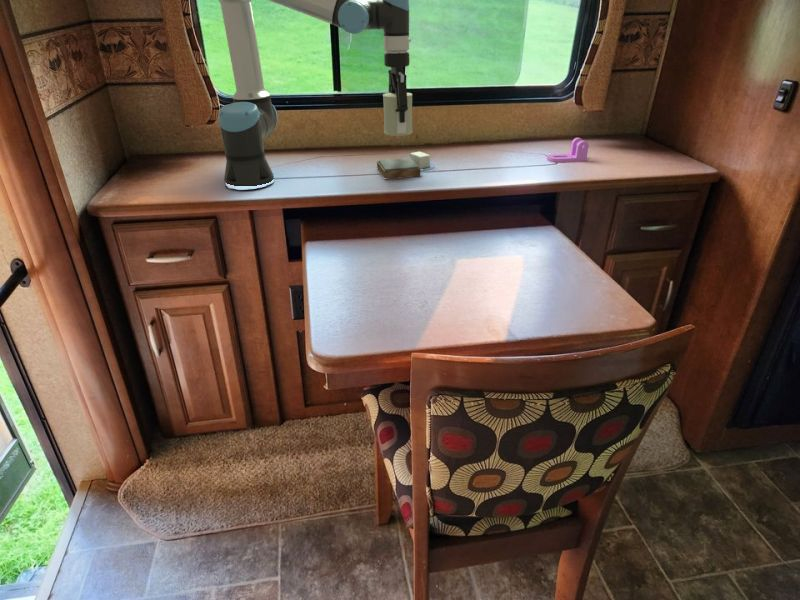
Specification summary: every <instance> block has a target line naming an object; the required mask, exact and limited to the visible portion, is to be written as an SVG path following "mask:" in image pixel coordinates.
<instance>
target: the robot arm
mask: <svg viewBox="0 0 800 600" xmlns="http://www.w3.org/2000/svg"><path fill="white" fill-rule="evenodd" d="M217 1H218V2H219V4H220V8H221V14H222V20H223V23H224V30H225V35H226V41H227V46H228V52H229V58H230V63H231V67H232V73H233V74H232V75H233V79H234V85H235V90H236V91H235V93H234V94H233V96H232V100H233V101H232V102H231V103H229V104H225V105H223V106H221V107H220V109H219V111H218V112H217V113H218V115H217V116H218V124H219V127H220V128H219V129H220V132H221V133H220V134H221V138H222V143H223V144H222V145H223V147H224V148H223V149H224V154H225V158H226V159H225V160H226V161H225V162H226V163H225V169H224V175H223V176H224V177H223V179H224V180H223V182H224V181H225V182H226V183H227V184H230V185H234V186H257V185H262V184H266V183H269V182H271V181H272V180H273V179H274V180H275V178H274V173H273V171H272V168H271V166H270V165H269V163H268V162H269V161H268V160H267V158H266V153H265V147H264V139H266V138H267V137H269V136H270V135H271V134H272V133H273V132H274V130H275V129H276V127H277V124H278V119H279V118H278V112H277V109H276V107H275V105H274V104H272V98H271V93H270V92H268V91H267V90H266V89H265V84H264V78H263V71H262V66H261V58H260V52H259V46H258V41H257V40H258V39H257V34H256V33H257V32H256V28H255V27H256V26H255V20H254V15H253V13H254V12H253V7H252V0H217ZM268 1H269V2H272V3H274V4H278V5H280V6H282V7H284V8H288V9H290V10H293V11H294V12H295V11H296V12H298V13H301V14H303V15H305V16H309V17H311V18H315V19H317V20H320V21H323V22H325V23H328V24H330V25H333V26H335V27H338V28H340V29H342V30H344V31H345V32H347V33H349V34H352V35H356V34H360V33H362V32H363V31H366V30H368V31H369V30H382V31H383V35H382V36H383V37H382V38H383V51H385V52H384V54H383V56H384V57H383V58H384V59H383V61H384V62H383V63H384V67H387V68H390V69H388V70H387V71H388V73H387V74H388V93H396V97H397V108H398V109H396V110H395V111H396V112H397V133H398V134H399V133H406V110H408V105H407V93H408V92H407V91H408V90H407V89H408V88H407V78H408V77H407V74H406V73H405V72H404V67H405V68H406V67H409V66H410V52H408V51H409V50H410V43H411V42H412V39H411V38H410V0H268ZM225 182H224V183H225Z"/></svg>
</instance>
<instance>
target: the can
mask: <svg viewBox="0 0 800 600" xmlns="http://www.w3.org/2000/svg"><path fill="white" fill-rule="evenodd" d="M382 97H383V99H382V100H383V102H382V103H383V123H384V124H383V127H384V128H383V130H384V131H383V134H384V135H387V136H392V137H403V136H404V137H406V136H410V135H412V134H413V133H414V132H413V131H414V130H413V93H411V92H407V105H408V110H406V133H399V134H398V133H397V112H396V111H395V110H396V109H398V108H397V97H396V93H389V92H386V93H383V94H382Z"/></svg>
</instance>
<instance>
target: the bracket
mask: <svg viewBox="0 0 800 600" xmlns="http://www.w3.org/2000/svg"><path fill="white" fill-rule="evenodd" d="M570 144H571V146H570V150H569V151H570V153H559V154H549V155H547V156H546V161H547V162H550V163H555V164H556V163H577V162H587V159H588V153H589V147H590V146H589V142H587V141H586V140H583V139H582V138H581V137H575V138H574V139H572V141H571V143H570Z"/></svg>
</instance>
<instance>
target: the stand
mask: <svg viewBox="0 0 800 600" xmlns="http://www.w3.org/2000/svg"><path fill="white" fill-rule="evenodd" d="M376 168H378V169H377V171H378V170H379V171H380V172H379V171H378V172H379V174H380V173H381V174H382V175H381V174H380V175H381V176H383V177H384V178H393V179H400V178H399V177H405V178H415V176H416V177H421V169H422V168H419V166H418V165H417V164H416V163H415V162H414V161H413V160H412V159H411V158H410V157H403V158H401V157H400V158H389V159H387V158H386V159H379V160H377V161H376ZM383 177H382V178H383ZM384 178H383V179H384Z"/></svg>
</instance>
